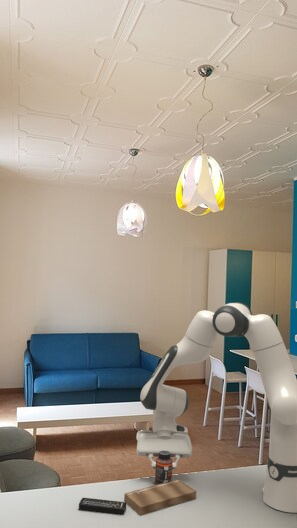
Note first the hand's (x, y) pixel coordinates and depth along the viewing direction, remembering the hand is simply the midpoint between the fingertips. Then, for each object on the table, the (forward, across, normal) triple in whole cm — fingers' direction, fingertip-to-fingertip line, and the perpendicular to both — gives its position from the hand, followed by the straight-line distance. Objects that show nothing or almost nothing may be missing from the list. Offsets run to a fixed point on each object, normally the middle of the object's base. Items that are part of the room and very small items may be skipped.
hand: (164, 468), depth 160 cm
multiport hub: (+17, -20, -8) cm, 27 cm away
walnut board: (+12, -1, -3) cm, 12 cm away
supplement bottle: (+4, 0, +5) cm, 6 cm away
